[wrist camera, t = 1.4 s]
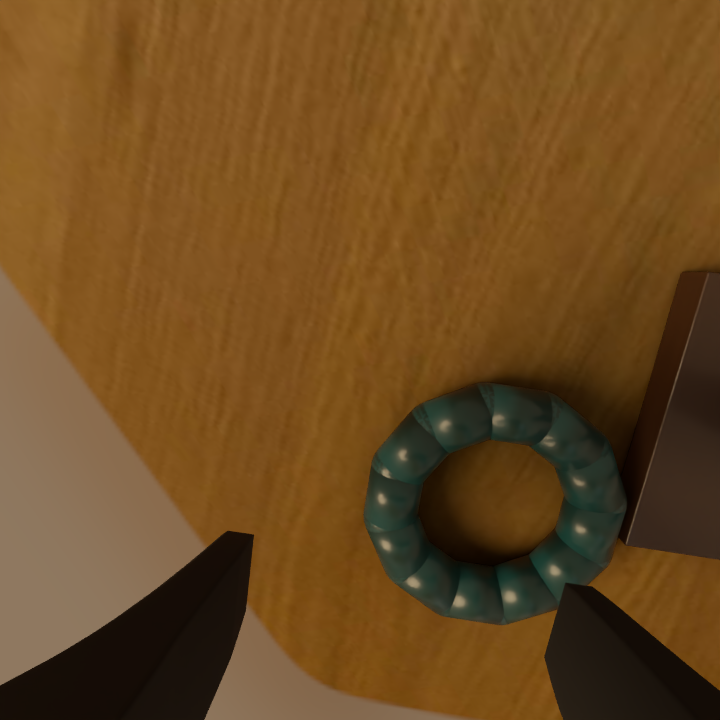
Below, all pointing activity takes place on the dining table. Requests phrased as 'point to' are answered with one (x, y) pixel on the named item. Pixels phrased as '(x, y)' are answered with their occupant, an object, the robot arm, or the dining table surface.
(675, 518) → the post
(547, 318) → the dining table surface
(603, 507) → the ring
